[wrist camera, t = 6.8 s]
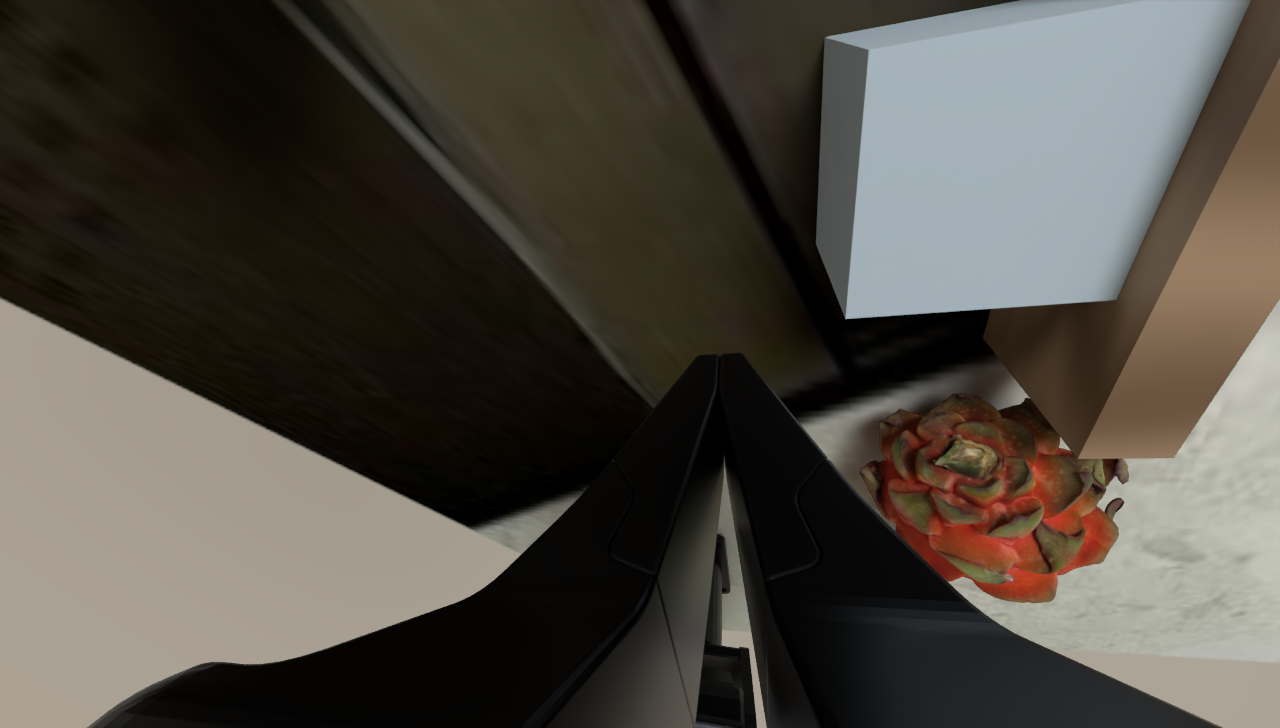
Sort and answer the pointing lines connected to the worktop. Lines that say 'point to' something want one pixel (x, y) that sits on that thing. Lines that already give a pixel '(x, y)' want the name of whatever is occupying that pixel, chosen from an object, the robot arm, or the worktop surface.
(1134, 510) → the worktop surface
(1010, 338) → the walnut board
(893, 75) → the slate block
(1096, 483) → the dragon fruit
